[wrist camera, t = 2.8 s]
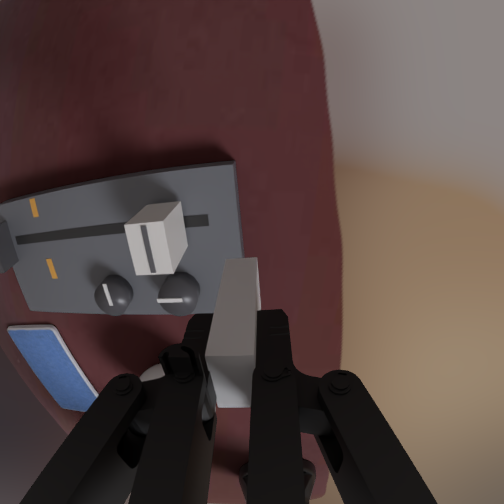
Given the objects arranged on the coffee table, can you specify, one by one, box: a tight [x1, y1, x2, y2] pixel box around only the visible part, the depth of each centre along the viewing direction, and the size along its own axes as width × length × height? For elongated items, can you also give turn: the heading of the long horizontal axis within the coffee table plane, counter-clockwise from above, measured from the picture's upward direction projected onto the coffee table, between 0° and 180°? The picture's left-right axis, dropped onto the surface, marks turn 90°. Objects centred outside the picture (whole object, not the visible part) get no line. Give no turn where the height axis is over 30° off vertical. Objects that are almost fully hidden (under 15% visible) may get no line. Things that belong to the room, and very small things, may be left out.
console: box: [0, 160, 245, 316], centre depth 27 cm, size 14×28×5 cm, turn 95°
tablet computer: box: [7, 325, 99, 412], centre depth 39 cm, size 19×13×1 cm, turn 11°
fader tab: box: [124, 201, 188, 275], centre depth 23 cm, size 4×3×5 cm
